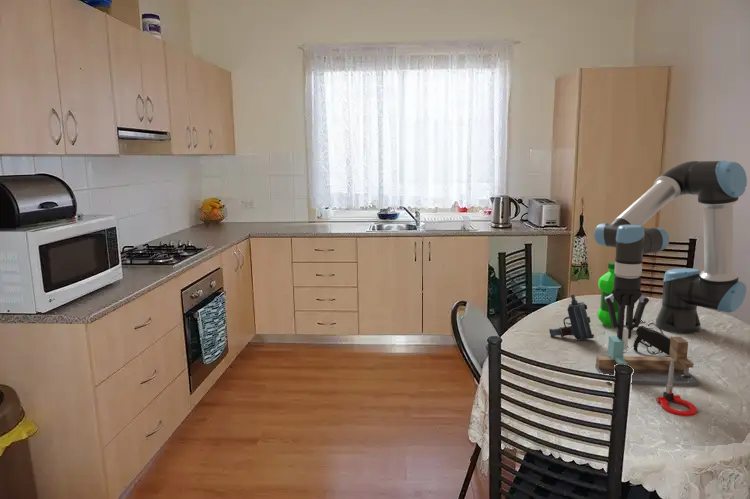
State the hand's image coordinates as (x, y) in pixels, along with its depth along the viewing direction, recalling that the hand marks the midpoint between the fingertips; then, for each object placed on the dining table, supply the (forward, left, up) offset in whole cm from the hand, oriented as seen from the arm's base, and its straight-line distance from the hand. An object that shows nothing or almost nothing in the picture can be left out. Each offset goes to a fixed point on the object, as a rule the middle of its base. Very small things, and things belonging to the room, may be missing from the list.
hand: (623, 348), depth 165 cm
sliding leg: (+2, +2, -6) cm, 7 cm away
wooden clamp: (-6, +2, -6) cm, 9 cm away
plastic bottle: (-11, -45, -8) cm, 47 cm away
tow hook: (-7, +24, -8) cm, 26 cm away
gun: (+8, -29, -8) cm, 31 cm away
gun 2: (-17, -14, -8) cm, 23 cm away
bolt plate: (-6, +4, -8) cm, 10 cm away
